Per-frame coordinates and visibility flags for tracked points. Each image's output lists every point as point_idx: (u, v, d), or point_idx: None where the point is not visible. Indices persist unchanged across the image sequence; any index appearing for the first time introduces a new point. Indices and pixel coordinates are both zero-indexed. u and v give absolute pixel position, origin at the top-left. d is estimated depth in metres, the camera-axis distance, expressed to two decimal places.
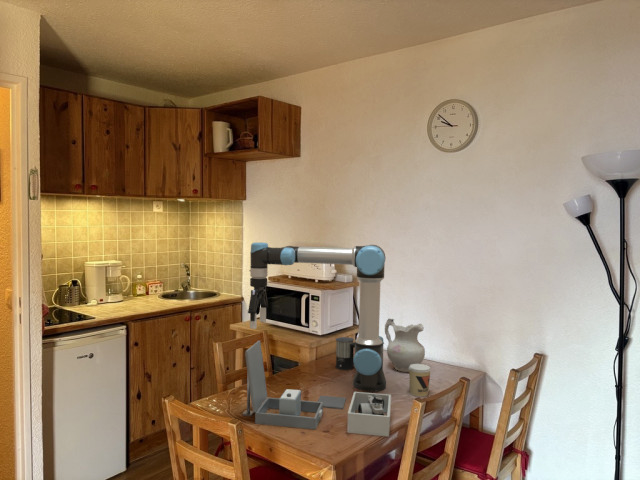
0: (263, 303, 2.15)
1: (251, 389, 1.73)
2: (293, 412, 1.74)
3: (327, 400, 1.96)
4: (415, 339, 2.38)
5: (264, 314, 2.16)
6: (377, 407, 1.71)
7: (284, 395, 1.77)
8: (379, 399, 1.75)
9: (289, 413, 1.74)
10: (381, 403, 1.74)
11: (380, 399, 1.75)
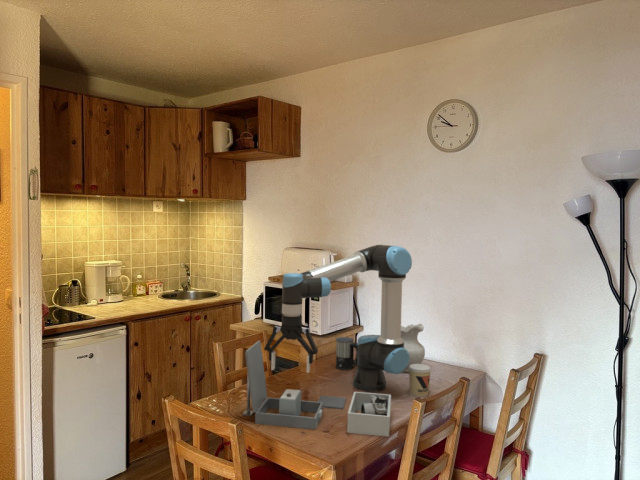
0: None
1: (251, 389, 1.73)
2: (293, 412, 1.74)
3: (327, 400, 1.96)
4: (415, 339, 2.38)
5: (307, 363, 1.76)
6: (380, 407, 1.71)
7: (284, 395, 1.77)
8: (382, 399, 1.75)
9: (289, 413, 1.74)
10: (384, 403, 1.74)
11: (383, 399, 1.75)
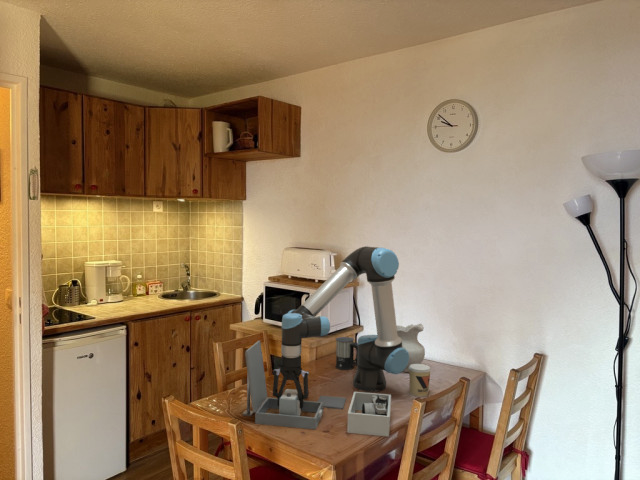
0: None
1: (251, 389, 1.73)
2: (293, 412, 1.74)
3: (327, 400, 1.96)
4: (415, 339, 2.38)
5: None
6: (380, 407, 1.71)
7: (284, 395, 1.77)
8: (383, 399, 1.75)
9: (289, 413, 1.74)
10: (384, 403, 1.74)
11: (384, 399, 1.75)
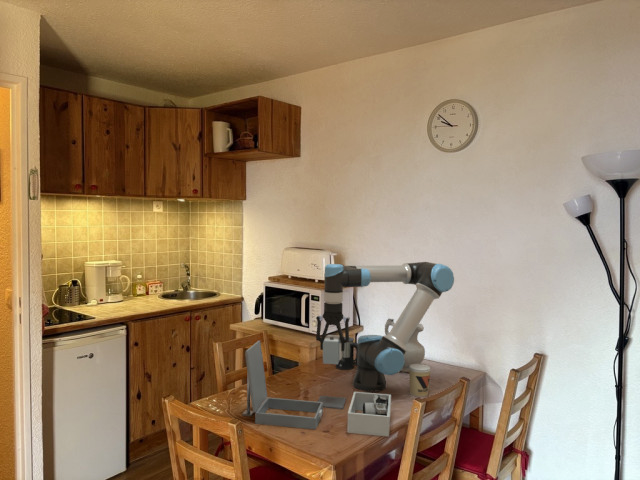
0: None
1: (251, 389, 1.73)
2: (336, 353, 1.89)
3: (327, 400, 1.96)
4: (415, 339, 2.38)
5: (339, 350, 1.93)
6: (380, 407, 1.71)
7: (327, 338, 1.92)
8: (383, 399, 1.75)
9: (332, 354, 1.89)
10: (385, 403, 1.74)
11: (384, 399, 1.75)
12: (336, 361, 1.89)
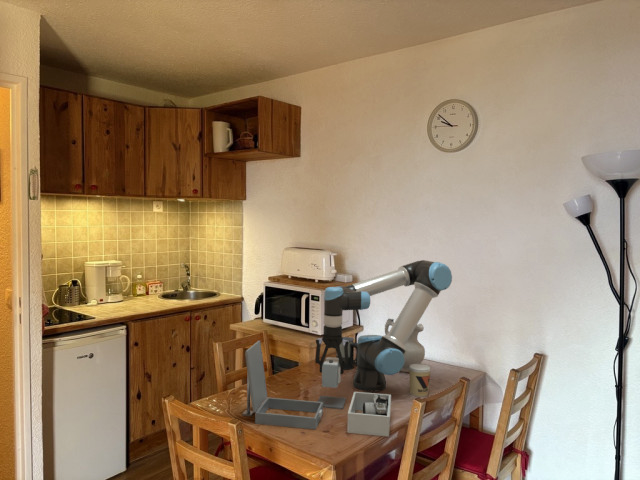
0: None
1: (251, 389, 1.73)
2: (335, 376, 1.89)
3: (327, 400, 1.96)
4: (415, 339, 2.38)
5: None
6: (380, 406, 1.72)
7: (326, 361, 1.92)
8: (383, 399, 1.75)
9: (331, 377, 1.89)
10: (385, 403, 1.75)
11: (384, 399, 1.75)
12: (335, 384, 1.89)
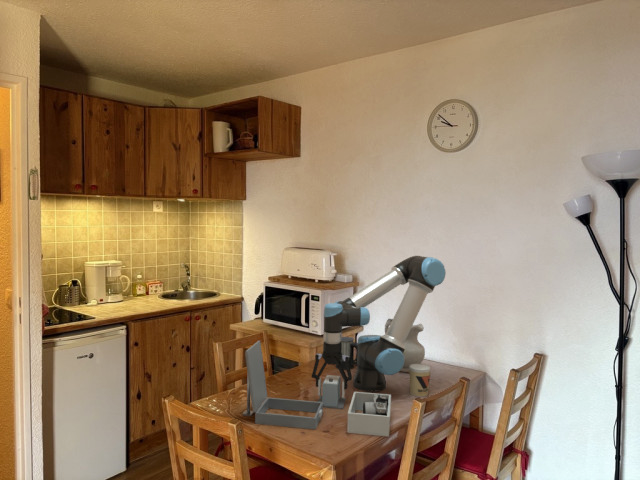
0: None
1: (251, 389, 1.73)
2: (335, 395, 1.89)
3: None
4: (415, 339, 2.38)
5: (342, 388, 1.93)
6: (380, 406, 1.72)
7: (326, 380, 1.93)
8: (383, 398, 1.76)
9: (331, 396, 1.90)
10: (385, 402, 1.75)
11: (384, 398, 1.76)
12: (335, 403, 1.89)
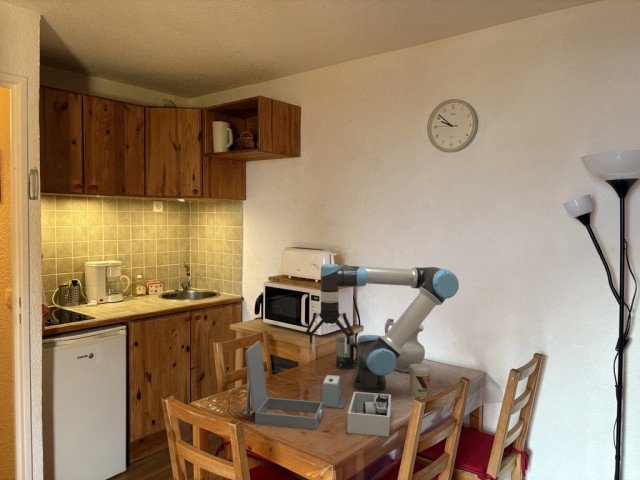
0: None
1: (251, 389, 1.73)
2: (335, 395, 1.89)
3: None
4: (415, 339, 2.38)
5: None
6: (380, 406, 1.72)
7: (326, 380, 1.93)
8: (383, 398, 1.76)
9: (331, 396, 1.90)
10: (385, 402, 1.75)
11: (384, 398, 1.76)
12: (335, 403, 1.89)
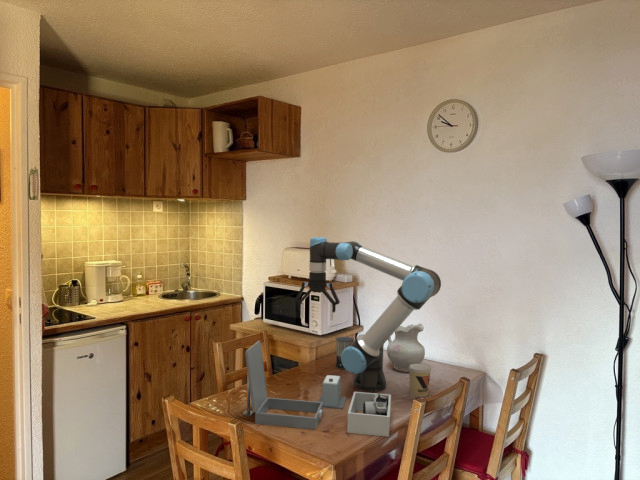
0: None
1: (251, 389, 1.73)
2: (335, 395, 1.89)
3: None
4: (415, 339, 2.38)
5: None
6: (380, 406, 1.73)
7: (326, 380, 1.93)
8: (383, 398, 1.76)
9: (331, 396, 1.90)
10: (385, 402, 1.75)
11: (384, 398, 1.76)
12: (335, 403, 1.89)
